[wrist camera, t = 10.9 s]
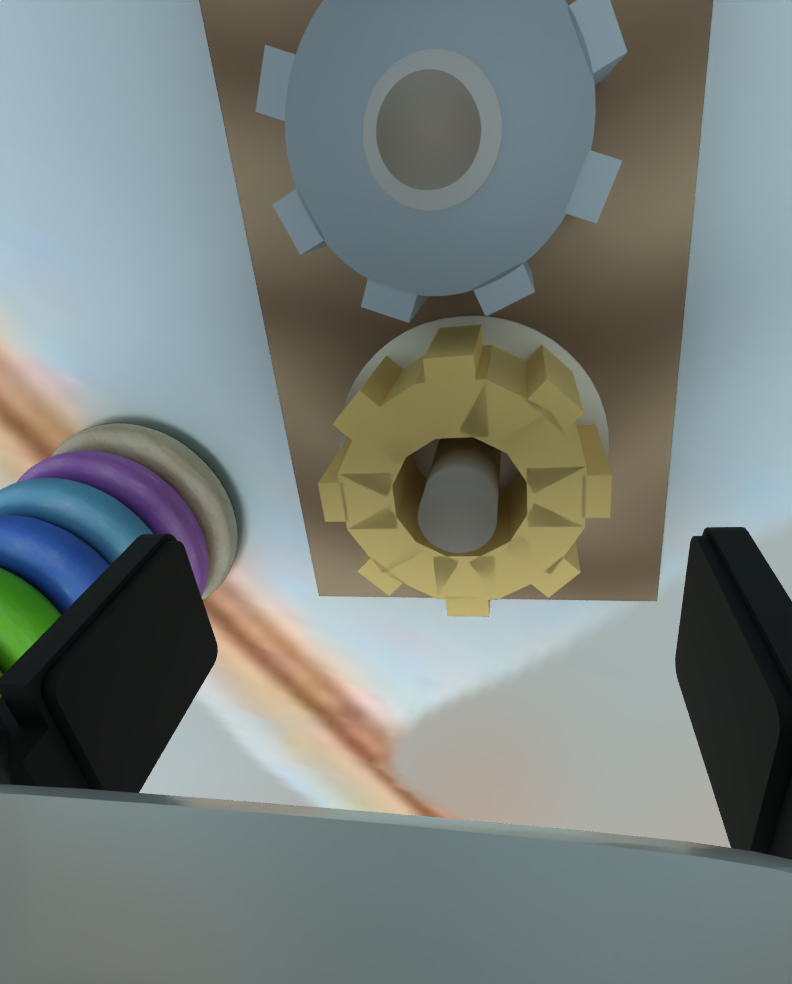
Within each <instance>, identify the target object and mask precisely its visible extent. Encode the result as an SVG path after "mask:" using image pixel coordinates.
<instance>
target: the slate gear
mask: <svg viewBox="0 0 792 984" xmlns="http://www.w3.org/2000/svg"><path fill="white" fill-rule="evenodd" d="M626 53H627V49H626V46H625V43H624V40H623V37H622V34H621V31H620V28H619V25H618V22H617V19H616V16H615V13H614V10H613V7H612V4H611V1H610V0H577V1H575V2H574V3H572V4H571V5H569V6H568V4H567V2H566V1H565V0H323V1H322V3H321V4H320V6H319V8H318V9H317V11H316V12H315V14H314V15H313V17H312V19H311V20H310V22H309V24H308V27H307V29H306V31H305V33H304V35H303V37H302V39H301V41H300V44H299V47H298V50H297V53H296V55H295V54H292V53H289V52H286V51H283V50H280V49H277V48H274V47H271V46H268V45H265V48H264V55H263V62H262V69H261V76H260V83H259V90H258V97H257V105H256V112H258V113H261V114H264V115H267V116H270V117H273V118H276V119H279V120H282V121H285V139H286V148H287V157H288V161H289V166H290V170H291V175H292V179H293V182H294V185H295V188H296V189H295V190H294V191H292V192H291V193H289V194H288V195H286V196H285V197H283V198H282V199H280V200H279V201H277V202H276V203H274V204H273V207H274V209H275V210H276V212H277V214H278V216H279V218H280V219H281V221H282V223H283V225H284V227H285V228H286V230H287V232H288V234H289V236H290V237H291V239H292V241H293V243H294V244H295V246H296V248H297V250H298V252H299V253H300V255H302V254H305V253H308V252H311V251H314V250H317V249H320V248H323V247H326V246H329V248H330V249H331V250H332V251H333V252H334V253H335V254H336V255H337V256H338V257H339V258H340V259H341V260H342V261H343V262H344V263H346V264H347V265H348V266H350V267H351V268H352V269H354V270H355V271H356V272H358V273H359V274H361V275H362V276H364V277H366V278H368V280H367V284H366V288H365V292H364V296H363V300H362V304H361V307H363V308H366V309H369V310H372V311H375V312H378V313H381V314H384V315H387V316H390V317H393V318H396V319H399V320H402V321H405V322H408V323H409V322H410V321H411V319H412V318H413V317H414V316H415V314H416V313H417V312H418V310H419V309H420V308H421V306H422V305H423V304H424V303H425V301H426V300H427V299H428V297H429V296H447V295H454V294H460V293H465V292H468V291H472V290H473V291H474V293H475V295H476V297H477V299H478V301H479V303H480V305H481V308H482V310H483V312H484V314H485V316H488V315H490V314H492V313H494V312H496V311H498V310H500V309H502V308H504V307H506V306H508V305H510V304H512V303H514V302H516V301H518V300H520V299H522V298H524V297H526V296H528V295H530V294H532V293H534V292H535V288H534V282H533V276H532V271H531V268H530V266H529V264H528V261H527V260H528V259H530V258H531V257H532V256H533V255H534V254H535V253H536V252H537V251H538V250H539V249H540V248H541V247H542V246H543V245H544V244H545V243H546V242H547V240H548V239H549V238H550V237H551V235H552V234H553V233H554V231H555V230H556V229H557V227H558V226H559V225H560V223H561V222H562V220H563V218H564V217H565V215H566V214H569V215H572V216H576V217H579V218H582V219H585V220H588V221H591V222H594V223H597V221H598V219H599V217H600V214H601V212H602V209H603V207H604V204H605V202H606V200H607V197H608V195H609V192H610V190H611V187H612V185H613V183H614V180H615V178H616V175H617V173H618V170H619V168H620V166H621V163H622V160H619V159H616V158H613V157H610V156H607V155H603V154H600V153H597V152H594V151H591V147H592V142H593V137H594V126H595V115H596V106H595V85H596V84H598V83H599V82H601V81H602V80H604V79H605V78H606V77H607V76H608V74H609V73H610V72H611V71H612V70H613V68H614V67H615V66H616V65H617V64H618V63H619V61H620V60H621V59H622V58H623V57H624V55H625V54H626ZM424 69H436V70H440V71H444V72H446V73H449V74H451V75H452V76H454V77H456V78H457V79H458V80H459V81H461V82H462V83H463V84H464V86H465V87H466V88H467V89H468V91H469V92H470V94H471V95H472V97H473V99H474V101H475V103H476V105H477V108H478V111H479V115H480V120H481V139H480V145H479V149H478V152H477V155H476V157H475V159H474V161H473V163H472V165H471V166H470V168H469V169H468V170H467V171H466V173H465V174H464V175H463V176H462V177H461V178H460V179H458V180H457V181H455V182H454V183H452V184H450V185H449V186H446V187H443V188H440V189H435V190H418V189H414V188H411V187H409V186H406V185H405V184H403V183H401V182H400V181H398V180H397V179H396V178H395V177H394V176H393V175H392V174H391V173H390V172H389V170H388V169H387V168H386V166H385V164H384V163H383V161H382V158H381V156H380V153H379V150H378V146H377V140H376V124H377V118H378V114H379V110H380V107H381V105H382V102H383V100H384V98H385V97H386V95H387V93H388V92H389V91H390V89H391V88H392V87H393V86H394V85H395V84H396V83H397V82H398V81H399V80H400V79H402V78H403V77H405V76H406V75H408V74H410V73H413V72H415V71H419V70H424Z"/></svg>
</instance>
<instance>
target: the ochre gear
mask: <svg viewBox="0 0 792 984" xmlns="http://www.w3.org/2000/svg"><path fill="white" fill-rule="evenodd" d="M583 413H584V410H583V406H582V403H581V399H580V396H579V392H578V389H577V386H576V382H575V379H574V375H573V372H572V371H571V370H570V369H569V368H568V367H567V366H566V365H565V364H563V363H562V362H561V361H560V360H559V359H558V358H557V357H556V356H554V355H553V354H552V353H551V352H550V351H549V350H548V349H547V348H545V347H544V346H543V345H541V346H540V347H539V348H538V349H537V350H536V351H535V352H534V353H533V354H532V355H531V356H530V357H529V358H528V359H527V360H526V361H524V360H522V359H520V358H518V357H516V356H514V355H512V354H510V353H507V352H505V351H503V350H501V349H499V348H497V347H495V346H493V345H492V346H491V345H483V344H482V325H481V324H480V325H468V326H455V327H443V328H439V330H438V332H437V334H436V335H435V337H434V339H433V341H432V343H431V345H430V347H429V348H428V350H427V352H426V354H425V355H423V356H422V357H420V358H419V359H417V360H416V361H415V362H413V363H412V364H410V365H409V366H407V367H406V368H404V369H402V368H401V367H399V366H398V365H397V364H396V363H395V362H394V361H392V360H391V359H390V358H389V357H388V356H385V358H384V359H383V360H382V361H381V363H380V364H379V365H378V366H377V368H376V369H375V370H374V371H373V373H372V374H371V375H370V376H369V378H368V379H367V380H366V381H365V383H364V384H363V385H362V386H361V388H360V389H359V390H358V392H357V393H356V394H355V396H354V397H353V398H352V399H351V401H350V402H349V403H348V405H347V406H346V407H345V409H344V410H343V411H342V413H341V414H340V415H339V416H338V418H337V419H336V420H335V422H334V423H333V424H332V425H334V426H335V427H336V428H337V429H339V430H340V431H341V432H342V433H344V434H345V435H346V436H347V437H348V439H347V440H346V442H345V443H344V445H343V446H342V448H341V449H340V451H339V452H338V454H337V455H336V457H335V458H334V460H333V461H332V463H331V464H330V466H329V467H328V469H327V470H326V472H325V473H324V475H323V476H322V478H321V479H320V481H319V482H318V486H319V492H320V497H321V502H322V508H323V513H324V518H325V522H346V526H347V530H348V531H349V532H350V534H351V535H352V536H353V537H354V539H355V540H356V541H357V542H358V543H359V545H360V546H361V547H362V548H363V550H364V551H365V554H364V556H363V559H362V561H361V564H360V566H359V568H358V571H357V572H358V573H360V574H361V575H362V576H364V577H365V578H366V579H368V580H369V581H370V582H372V583H373V584H374V585H376V586H377V587H378V588H380V589H381V590H382V591H383V592H385V593H386V594H387V595H389V596H390V595H391V594H392V593H393V592H394V591H395V590H396V589H397V588H398V587H399V586H400V585H401V584H402V583H404V584H406V585H408V586H410V587H412V588H415V589H417V590H419V591H421V592H423V593H425V594H428V595H430V596H432V597H434V598H436V599H446V605H447V615H448V616H481V617H489V609H490V600H498V599H500V598H502V597H504V596H506V595H509V594H511V593H513V592H515V591H517V590H519V589H521V588H524V587H526V586H528V585H530V584H532V585H533V586H534V587H535V588H537V589H538V590H539V591H540V592H542V593H543V594H544V595H545V596H547V597H548V598H549V597H550V596H551V595H553V594H554V593H555V592H556V591H558V590H559V589H560V588H561V587H563V586H564V585H565V584H567V583H568V582H569V581H570V580H572V579H573V578H574V577H575V576H577V575H578V574H579V573H581V571H580V565H579V559H578V553H577V546H576V539H577V538H578V536H579V535H580V534H581V532H582V531H583V529H584V528H585V518H610V508H611V485H612V474H611V471H610V467H609V464H608V461H607V458H606V455H605V452H604V449H603V446H602V443H601V439H600V436H599V433H598V430H597V427H596V425H587V426H577V424H576V419H577V418H579V417H580V416H581V415H582V414H583ZM465 437H474V438H476V439H478V440H480V441H482V442H484V443H486V444H488V445H491V446H493V447H495V448H497V449H499V450H501V451H503V452H505V453H507V454H508V456H509V457H510V459H511V460H512V461H513V463H514V464H515V466H516V467H517V469H518V470H519V473H518V474H517V476H516V478H515V479H514V481H513V483H512V484H511V485H509V486H508V487H506V488H504V489H502V490H500V491H499V494H498V510H497V524H496V529H495V532H494V534H493V536H492V537H491V539H490V540H489V541H488V542H487V543H486V544H485V545H483V546H482V547H480V548H479V549H476V550H474V551H471V552H466V553H453V552H448V551H444V550H442V549H440V548H438V547H436V546H434V545H433V544H431V543H430V542H429V541H428V540H427V539H426V538H425V536H424V535H423V533H422V532H421V530H420V527H419V524H418V509H419V506H420V502H421V499H422V496H423V492H424V489H425V486H426V483H427V479H426V478H425V477H424V475H423V474H422V473H421V471H420V470H419V469H418V467H417V466H416V465H415V458H414V452H415V451H417V450H418V449H420V448H422V447H423V446H425V445H426V444H428V443H430V442H431V441H433V440H435V439H442V438H465Z"/></svg>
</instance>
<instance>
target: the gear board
mask: <svg viewBox="0 0 792 984" xmlns="http://www.w3.org/2000/svg"><path fill="white" fill-rule="evenodd" d="M322 1H323V0H199V2H200V7H201V12H202V17H203V22H204V27H205V32H206V37H207V42H208V47H209V52H210V57H211V62H212V67H213V72H214V76H215V81H216V86H217V91H218V96H219V101H220V106H221V111H222V116H223V121H224V126H225V131H226V136H227V141H228V146H229V151H230V156H231V161H232V166H233V171H234V176H235V181H236V186H237V191H238V196H239V201H240V206H241V210H242V215H243V220H244V225H245V230H246V235H247V240H248V245H249V250H250V255H251V260H252V265H253V270H254V275H255V280H256V285H257V290H258V295H259V300H260V305H261V310H262V315H263V320H264V325H265V330H266V335H267V340H268V345H269V349H270V354H271V359H272V364H273V369H274V374H275V379H276V384H277V389H278V394H279V399H280V404H281V409H282V414H283V419H284V424H285V429H286V434H287V439H288V444H289V449H290V454H291V459H292V464H293V469H294V474H295V479H296V483H297V488H298V493H299V498H300V503H301V508H302V513H303V518H304V523H305V528H306V533H307V538H308V543H309V548H310V553H311V558H312V563H313V568H314V573H315V578H316V583H317V588H318V593H319V596H355V597H419V598H434V597H432V596H430V595H428V594H425V593H423V592H421V591H419V590H417V589H415V588H412V587H410V586H408V585H406V584H404V583H402V584H401V585H400V586H399V587H398V588H397V589H396V590H395V591H394V592H393V593H392V594H391V595H390V596H389V595H387V594H386V593H385V592H383V591H382V590H381V589H380V588H378V587H377V586H376V585H374V584H373V583H372V582H370V581H369V580H368V579H366V578H365V577H364V576H362V575H361V574H360V573H358V572H357V571H358V568H359V566H360V564H361V561H362V559H363V556H364V554H365V551H364V550H363V548H362V547H361V546H360V545H359V543H358V542H357V541H356V540H355V539H354V537H353V536H352V535H351V534H350V532H349V531H348V530H347V526H346V522H325V518H324V513H323V508H322V502H321V497H320V492H319V486H318V482H319V481H320V479H321V478H322V476H323V475H324V473H325V472H326V470H327V469H328V467H329V466H330V464H331V463H332V461H333V460H334V458H335V457H336V455H337V454H338V452H339V451H340V449H341V448H342V446H343V445H344V443H345V442H346V440H347V439H348V437H347V436H346V435H345V434H344V433H342V432H341V431H340V430H339V429H337V428H336V427H335V426H334V425H332V424H333V423H334V422H335V420H336V419H337V418H338V416H339V415H340V414H341V413H342V411H343V410H344V409H345V407H346V406H347V405H348V403H349V402H350V401H351V399H352V398H353V397H354V396H355V394H356V393H357V392H358V390H359V389H360V388H361V386H362V385H363V384H364V383H365V381H366V380H367V379H368V378H369V376H370V375H371V374H372V373H373V371H374V370H375V369H376V368H377V366H378V365H379V364H380V363H381V361H382V360H383V359H384V358H385V356H388V357H389V358H390V359H391V360H392V361H394V362H395V363H396V364H397V365H398V366H399V367H401V368H402V369H404V368H406V367H407V366H409V365H410V364H412V363H413V362H415V361H416V360H417V359H419V358H420V357H422V356H423V355H425V354H426V352H427V350H428V348H429V347H430V345H431V343H432V341H433V339H434V337H435V335H436V334H437V332H438V330H439V328H443V327H455V326H468V325H480V324H481V325H482V344H483V345H491V346H492V345H493V346H495V347H497V348H499V349H501V350H503V351H505V352H507V353H510V354H512V355H514V356H516V357H518V358H520V359H522V360H524V361H526V360H527V359H528V358H529V357H530V356H531V355H532V354H533V353H534V352H535V351H536V350H537V349H538V348H539V347H540V346H541V345H543V346H544V347H545V348H547V349H548V350H549V351H550V352H551V353H552V354H553V355H554V356H556V357H557V358H558V359H559V360H560V361H561V362H562V363H563V364H565V365H566V366H567V367H568V368H569V369H570V370H571V371H572V372H573V375H574V379H575V382H576V386H577V389H578V392H579V396H580V399H581V403H582V406H583V410H584V413H583V414H582V415H581V416H580V417H579V418H577V419H576V424H577V426H587V425H596V427H597V430H598V433H599V436H600V439H601V443H602V446H603V449H604V452H605V455H606V458H607V461H608V464H609V467H610V471H611V474H612V485H611V508H610V518H585V528H584V529H583V531H582V532H581V534H580V535H579V536H578V538H577V539H576V546H577V553H578V559H579V565H580V571H581V573H579V574H578V575H577V576H575V577H574V578H573V579H572V580H570V581H569V582H568V583H567V584H565V585H564V586H563V587H561V588H560V589H559V590H558V591H556V592H555V593H554V594H553V595H551V596H550V597H549V598H548V597H547V596H545V595H544V594H543V593H542V592H540V591H539V590H538V589H537V588H535V587H534V586H533V585H532V584H530V585H528V586H526V587H524V588H521V589H519V590H517V591H515V592H513V593H511V594H509V595H506V596H504V597H502V598H500V599H547V600H610V601H657V596H658V585H659V575H660V564H661V553H662V542H663V532H664V521H665V510H666V500H667V489H668V478H669V468H670V457H671V446H672V435H673V425H674V414H675V403H676V393H677V382H678V371H679V361H680V350H681V339H682V328H683V318H684V307H685V296H686V286H687V275H688V264H689V254H690V243H691V232H692V221H693V211H694V200H695V189H696V179H697V168H698V157H699V147H700V136H701V125H702V114H703V104H704V93H705V82H706V72H707V61H708V50H709V40H710V29H711V18H712V7H713V0H610V1H611V4H612V7H613V10H614V13H615V16H616V19H617V22H618V25H619V28H620V31H621V34H622V37H623V40H624V43H625V46H626V49H627V53H626V54H625V55H624V57H623V58H622V59H621V60H620V61H619V63H618V64H617V65H616V66H615V67H614V68H613V70H612V71H611V72H610V73H609V74H608V76H607V77H606V78H605V79H604V80H602V81H601V82H599V83H598V84H596V85H595V106H596V115H595V126H594V137H593V142H592V147H591V151H594V152H597V153H600V154H603V155H607V156H610V157H613V158H616V159H619V160H622V163H621V166H620V168H619V170H618V173H617V175H616V178H615V180H614V183H613V185H612V187H611V190H610V192H609V195H608V197H607V200H606V202H605V204H604V207H603V209H602V212H601V214H600V217H599V219H598V221H597V223H594V222H591V221H588V220H585V219H582V218H579V217H576V216H572V215H569V214H566V215H565V217H564V218H563V220H562V222H561V223H560V225H559V226H558V227H557V229H556V230H555V231H554V233H553V234H552V235H551V237H550V238H549V239H548V240H547V242H546V243H545V244H544V245H543V246H542V247H541V248H540V249H539V250H538V251H537V252H536V253H535V254H534V255H533V256H532V257H531V258H530V259H528V260H527V261H528V264H529V266H530V268H531V271H532V276H533V282H534V288H535V292H534V293H532V294H530V295H528V296H526V297H524V298H522V299H520V300H518V301H516V302H514V303H512V304H510V305H508V306H506V307H504V308H502V309H500V310H498V311H496V312H494V313H492V314H490V315H488V316H485V314H484V312H483V310H482V308H481V305H480V303H479V301H478V299H477V297H476V295H475V293H474V291H473V290H472V291H468V292H465V293H460V294H454V295H447V296H429V297H428V299H427V300H426V301H425V303H424V304H423V305H422V306H421V308H420V309H419V310H418V312H417V313H416V314H415V316H414V317H413V318H412V319H411V321H410V322H409V323H408V322H405V321H402V320H399V319H396V318H393V317H390V316H387V315H384V314H381V313H378V312H375V311H372V310H369V309H366V308H363V307H361V304H362V300H363V296H364V292H365V288H366V284H367V280H368V278H366V277H364V276H362V275H361V274H359V273H358V272H356V271H355V270H354V269H352V268H351V267H350V266H348V265H347V264H346V263H344V262H343V261H342V260H341V259H340V258H339V257H338V256H337V255H336V254H335V253H334V252H333V251H332V250H331V249H330V248H329V246H326V247H323V248H320V249H317V250H314V251H311V252H308V253H305V254H302V255H300V253H299V252H298V250H297V248H296V246H295V244H294V243H293V241H292V239H291V237H290V236H289V234H288V232H287V230H286V228H285V227H284V225H283V223H282V221H281V219H280V218H279V216H278V214H277V212H276V210H275V209H274V207H273V204H274V203H276V202H277V201H279V200H280V199H282V198H283V197H285V196H286V195H288V194H289V193H291V192H292V191H294V190H295V189H296V188H295V185H294V182H293V179H292V175H291V170H290V166H289V161H288V157H287V148H286V139H285V121H282V120H279V119H276V118H273V117H270V116H267V115H264V114H261V113H258V112H256V105H257V97H258V90H259V83H260V76H261V69H262V62H263V55H264V48H265V45H268V46H271V47H274V48H277V49H280V50H283V51H286V52H289V53H292V54H295V55H296V53H297V50H298V47H299V44H300V41H301V39H302V37H303V35H304V33H305V31H306V29H307V27H308V24H309V22H310V20H311V19H312V17H313V15H314V14H315V12H316V11H317V9H318V8H319V6H320V4H321V3H322ZM565 1H566V2H567V4H568V6H569V5H571V4H572V3H574V2H575V1H577V0H565ZM480 139H481V120H480V115H479V111H478V108H477V105H476V103H475V101H474V99H473V97H472V95H471V94H470V92H469V91H468V89H467V88H466V87H465V86H464V84H463V83H462V82H461V81H459V80H458V79H457V78H456V77H454V76H452V75H451V74H449V73H446V72H444V71H440V70H436V69H424V70H419V71H415V72H413V73H410V74H408V75H406V76H405V77H403V78H402V79H400V80H399V81H398V82H397V83H396V84H395V85H394V86H393V87H392V88H391V89H390V91H389V92H388V93H387V95H386V97H385V98H384V100H383V102H382V105H381V107H380V110H379V114H378V118H377V124H376V140H377V146H378V150H379V153H380V156H381V158H382V161H383V163H384V164H385V166H386V168H387V169H388V170H389V172H390V173H391V174H392V175H393V176H394V177H395V178H396V179H397V180H398V181H400V182H401V183H403V184H405V185H406V186H409V187H411V188H414V189H418V190H435V189H440V188H443V187H446V186H449V185H450V184H452V183H454V182H455V181H457V180H458V179H460V178H461V177H462V176H463V175H464V174H465V173H466V171H467V170H468V169H469V168H470V166H471V165H472V163H473V161H474V159H475V157H476V155H477V152H478V149H479V145H480ZM414 458H415V465H416V466H417V467H418V469H419V470H420V471H421V473H422V474H423V475H424V477H425V478H426V479H427V483H426V486H425V489H424V492H423V496H422V499H421V502H420V506H419V509H418V524H419V527H420V530H421V532H422V533H423V535H424V536H425V538H426V539H427V540H428V541H429V542H430V543H431V544H433V545H434V546H436V547H438V548H440V549H442V550H444V551H448V552H453V553H466V552H471V551H474V550H476V549H479V548H480V547H482V546H483V545H485V544H486V543H487V542H488V541H489V540H490V539H491V537H492V536H493V534H494V532H495V529H496V524H497V510H498V494H499V491H500V490H502V489H504V488H506V487H508V486H509V485H511V484H512V483H513V481H514V479H515V478H516V476H517V474H518V473H519V470H518V469H517V467H516V466H515V464H514V463H513V461H512V460H511V459H510V457H509V456H508V454H507V453H505V452H503V451H501V450H499V449H497V448H495V447H493V446H491V445H488V444H486V443H484V442H482V441H480V440H478V439H476V438H474V437H465V438H442V439H435V440H433V441H431V442H430V443H428V444H426V445H425V446H423V447H422V448H420V449H418V450H417V451H415V452H414Z"/></svg>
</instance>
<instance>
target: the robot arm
mask: <svg viewBox="0 0 792 984" xmlns="http://www.w3.org/2000/svg"><path fill="white" fill-rule="evenodd" d="M217 652H218V649H217V642H216V639H215V636H214V633H213V630H212V627H211V624H210V621H209V618H208V615H207V612H206V609H205V606H204V603H203V600H202V597H201V594H200V591H199V588H198V585H197V582H196V579H195V576H194V573H193V570H192V567H191V564H190V561H189V558H188V555H187V552H186V549H185V547H184V545H183V543H182V542H180V541H177V540H176V538H175V537H174V536H173V535H171V534H142V535H140V536H139V537H137V538H136V539H135V540H134V541H133V542H132V543H131V544H130V545H129V546H128V547H127V548H126V549H125V551H124V552H123V553H122V554H121V555H120V556H119V557H118V558H117V559H116V560H115V561H114V562H113V563H112V564H111V565H110V566H109V567H108V568H107V569H106V570H105V571H104V572H103V573H102V574H101V575H100V576H99V577H98V578H97V579H96V580H95V581H94V582H93V583H92V584H91V585H90V586H89V587H88V588H87V589H86V590H85V591H84V592H83V593H82V595H81V596H80V597H79V598H78V599H77V600H76V601H75V602H74V603H73V604H72V605H71V606H70V607H69V608H68V609H67V610H66V611H65V612H64V613H63V614H62V615H61V616H60V617H59V618H58V619H57V620H56V621H55V622H54V623H53V624H52V625H51V626H50V627H49V628H48V629H47V630H46V631H45V632H44V633H43V634H42V635H41V636H40V637H39V639H38V640H37V641H36V642H35V643H34V644H33V645H32V646H31V647H30V648H29V649H28V650H27V651H26V652H25V653H24V654H23V655H22V656H21V657H20V658H19V659H18V660H17V661H16V662H15V663H14V664H13V665H12V666H11V667H10V668H9V669H8V670H7V671H6V672H5V673H4V674H3V675H2V676H1V677H0V694H1V697H0V984H792V601H791V599H790V598H789V596H788V595H787V593H786V592H785V590H784V588H783V587H782V585H781V583H780V582H779V580H778V579H777V577H776V576H775V574H774V572H773V571H772V569H771V568H770V566H769V564H768V563H767V561H766V560H765V558H764V557H763V555H762V553H761V552H760V550H759V548H758V547H757V545H756V544H755V542H754V540H753V539H752V537H751V536H750V534H749V532H748V531H747V530H746V529H745V528H743V527H707V528H706V529H705V530H704V532H703V535H702V536H693V537H692V539H691V542H690V549H689V556H688V564H687V572H686V580H685V587H684V595H683V603H682V610H681V619H680V626H679V634H678V641H677V649H676V658H675V661H676V662H675V663H676V673H677V678H678V682H679V685H680V688H681V691H682V694H683V697H684V701H685V704H686V707H687V710H688V713H689V716H690V719H691V722H692V726H693V729H694V732H695V735H696V738H697V741H698V745H699V748H700V751H701V754H702V757H703V760H704V764H705V766H706V770H707V773H708V776H709V779H710V782H711V785H712V788H713V792H714V795H715V798H716V801H717V804H718V808H719V811H720V814H721V817H722V820H723V823H724V827H725V830H726V833H727V836H728V839H729V842H730V845H731V848H727V847H720V846H713V845H706V844H700V843H693V842H685V841H675V840H665V839H656V838H647V837H637V836H628V835H618V834H609V833H599V832H590V831H580V830H571V829H560V828H548V827H537V826H525V825H514V824H503V823H492V822H481V821H470V820H458V819H447V818H436V817H425V816H413V815H402V814H390V813H378V812H366V811H354V810H343V809H331V808H319V807H307V806H294V805H281V804H270V803H258V802H246V801H234V800H221V799H208V798H195V797H182V796H169V795H156V794H143V793H139V792H140V790H141V788H142V787H143V785H144V783H145V781H146V779H147V778H148V776H149V775H150V773H151V771H152V769H153V768H154V766H155V764H156V763H157V761H158V759H159V757H160V756H161V754H162V752H163V751H164V749H165V747H166V745H167V744H168V742H169V740H170V739H171V737H172V735H173V733H174V732H175V730H176V728H177V727H178V725H179V723H180V722H181V720H182V718H183V716H184V715H185V713H186V711H187V709H188V708H189V706H190V704H191V703H192V701H193V699H194V698H195V696H196V694H197V692H198V691H199V689H200V687H201V686H202V684H203V682H204V680H205V679H206V677H207V675H208V674H209V672H210V670H211V668H212V667H213V665H214V663H215V661H216V658H217Z"/></svg>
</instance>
